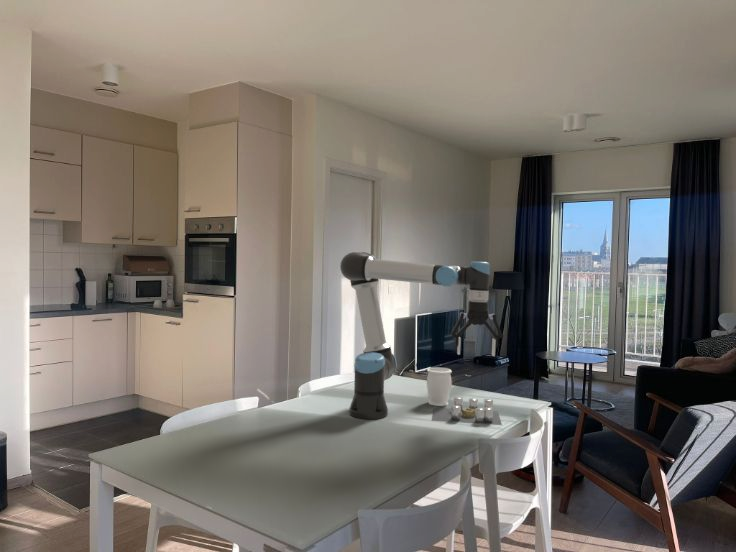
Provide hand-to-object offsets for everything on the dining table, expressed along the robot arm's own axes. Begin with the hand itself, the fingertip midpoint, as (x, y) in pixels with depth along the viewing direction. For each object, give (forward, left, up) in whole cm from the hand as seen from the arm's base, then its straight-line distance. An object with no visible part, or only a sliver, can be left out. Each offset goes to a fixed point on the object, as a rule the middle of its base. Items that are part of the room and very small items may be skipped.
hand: (475, 354), depth 224 cm
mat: (-3, -2, -24) cm, 25 cm away
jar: (-14, +15, -25) cm, 32 cm away
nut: (-2, -2, -24) cm, 24 cm away
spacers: (-1, -2, -24) cm, 24 cm away
